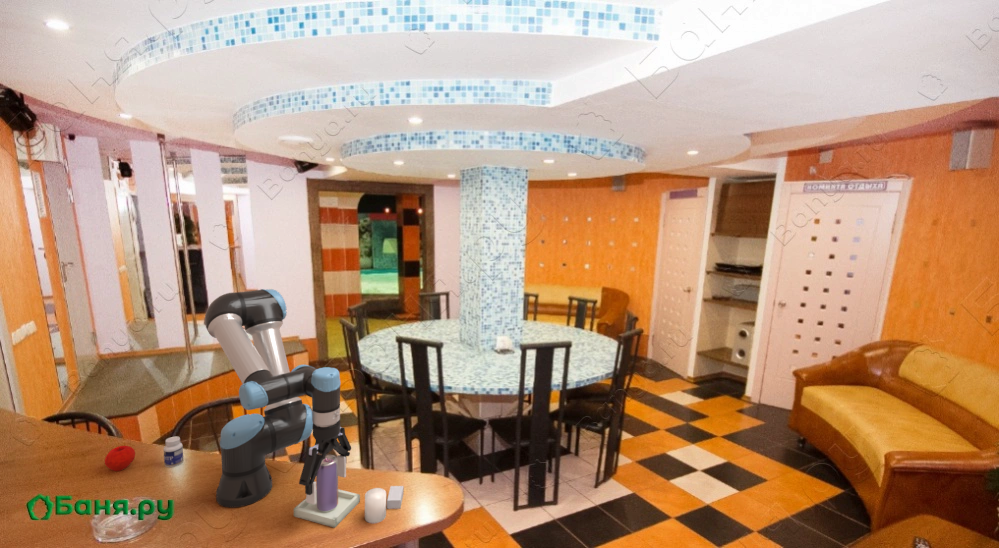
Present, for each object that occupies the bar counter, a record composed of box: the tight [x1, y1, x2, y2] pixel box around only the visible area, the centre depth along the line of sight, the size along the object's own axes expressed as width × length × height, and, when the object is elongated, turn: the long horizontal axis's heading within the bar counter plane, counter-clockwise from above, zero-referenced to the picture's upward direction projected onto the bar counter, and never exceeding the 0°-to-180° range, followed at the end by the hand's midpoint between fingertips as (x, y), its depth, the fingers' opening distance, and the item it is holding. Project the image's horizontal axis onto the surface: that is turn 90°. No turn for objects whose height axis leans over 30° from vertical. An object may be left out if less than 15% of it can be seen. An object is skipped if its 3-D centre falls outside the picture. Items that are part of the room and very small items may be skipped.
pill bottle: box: [163, 435, 184, 468], centre depth 150 cm, size 5×5×9 cm
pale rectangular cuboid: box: [386, 485, 404, 510], centre depth 136 cm, size 7×4×3 cm, turn 5°
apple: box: [104, 445, 136, 472], centre depth 146 cm, size 8×8×7 cm
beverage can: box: [315, 454, 339, 512], centre depth 130 cm, size 6×6×15 cm
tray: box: [293, 488, 361, 529], centre depth 131 cm, size 14×12×2 cm
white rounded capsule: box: [364, 487, 387, 524], centre depth 128 cm, size 6×6×7 cm
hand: (327, 488), depth 130 cm, fingers open, 13 cm apart
